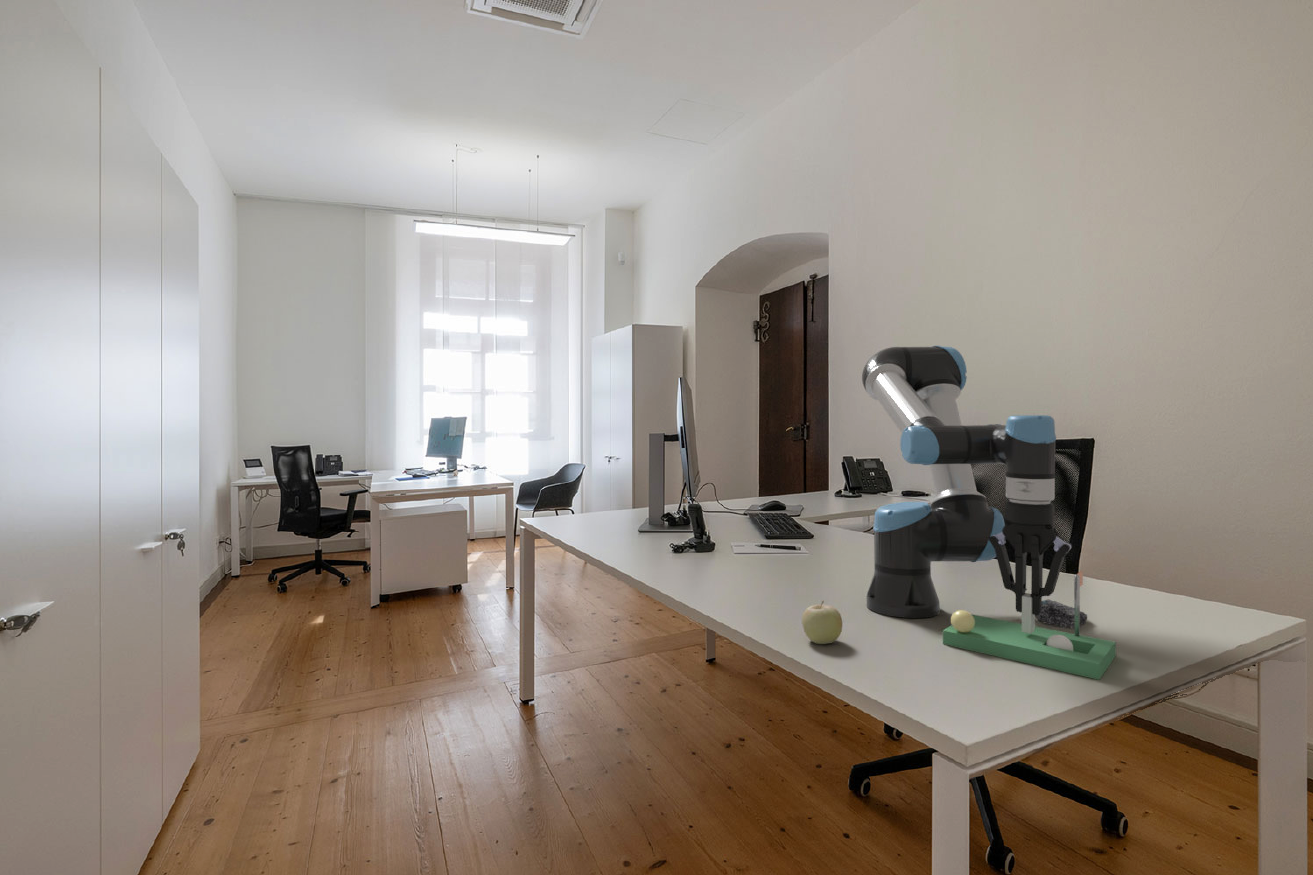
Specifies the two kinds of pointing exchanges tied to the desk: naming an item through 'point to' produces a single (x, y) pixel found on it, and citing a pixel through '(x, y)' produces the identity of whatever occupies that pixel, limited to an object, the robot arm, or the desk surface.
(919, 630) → the desk surface
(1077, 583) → the pin
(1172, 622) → the desk surface
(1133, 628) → the desk surface
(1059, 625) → the rock
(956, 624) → the ball
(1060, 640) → the ball
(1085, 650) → the green board with hole
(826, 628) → the fruit
